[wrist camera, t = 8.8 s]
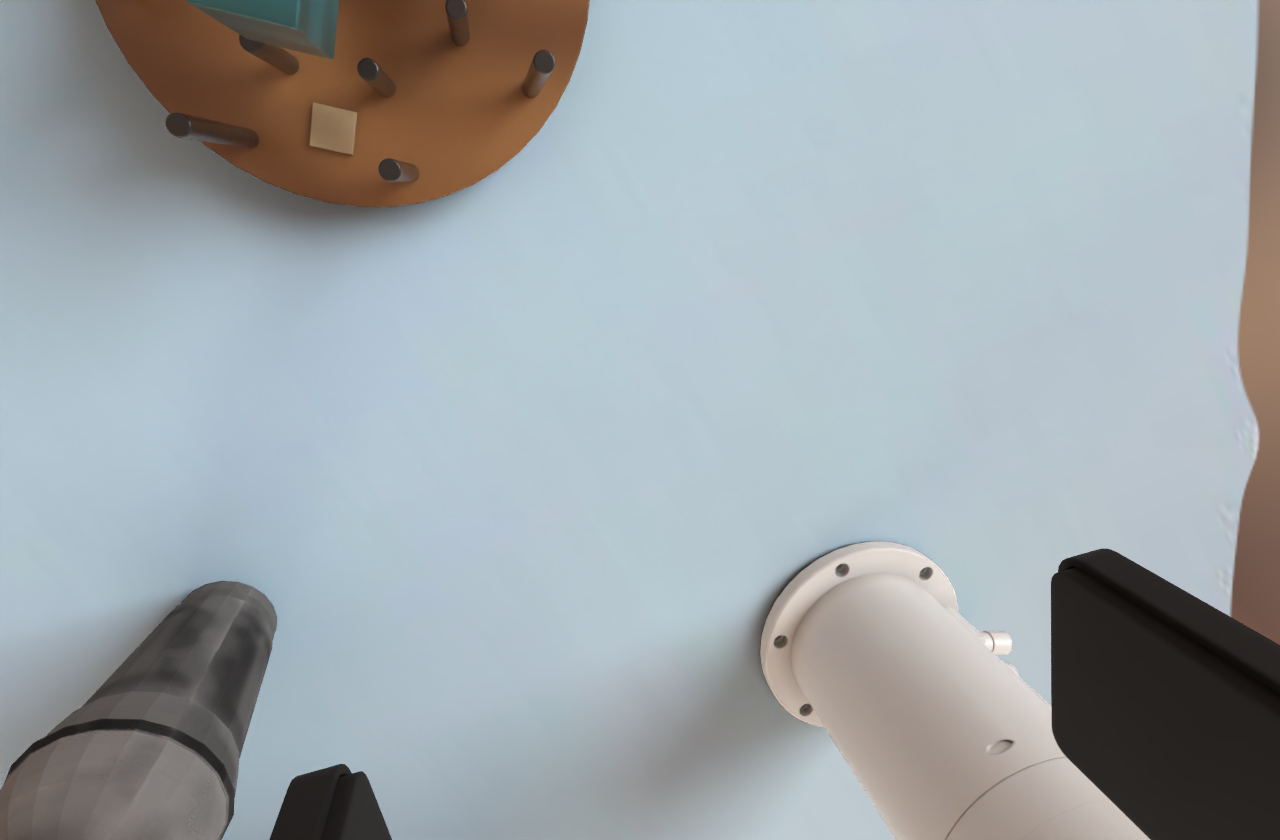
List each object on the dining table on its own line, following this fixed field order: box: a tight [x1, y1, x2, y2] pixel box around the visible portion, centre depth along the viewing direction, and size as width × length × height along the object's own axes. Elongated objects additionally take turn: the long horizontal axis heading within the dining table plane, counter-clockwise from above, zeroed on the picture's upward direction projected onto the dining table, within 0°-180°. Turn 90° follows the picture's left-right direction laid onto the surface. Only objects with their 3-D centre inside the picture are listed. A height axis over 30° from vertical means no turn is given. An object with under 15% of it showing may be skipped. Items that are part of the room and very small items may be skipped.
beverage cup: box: [0, 581, 277, 840], centre depth 27 cm, size 7×7×20 cm
